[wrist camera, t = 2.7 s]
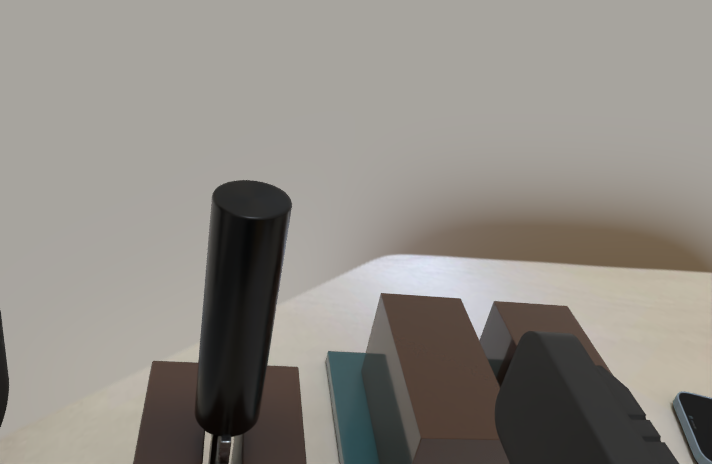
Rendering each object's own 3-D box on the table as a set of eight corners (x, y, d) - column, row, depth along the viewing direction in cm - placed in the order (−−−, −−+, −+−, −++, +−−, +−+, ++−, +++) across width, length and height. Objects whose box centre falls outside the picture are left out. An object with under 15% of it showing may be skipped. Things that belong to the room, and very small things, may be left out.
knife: (232, 611, 31) (294, 224, 20) (177, 613, 31) (209, 217, 20) (234, 552, 34) (290, 180, 23) (183, 553, 33) (214, 173, 22)
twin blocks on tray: (651, 562, 38) (715, 473, 34) (354, 570, 34) (385, 471, 30) (547, 370, 51) (583, 290, 47) (325, 360, 47) (344, 272, 43)
